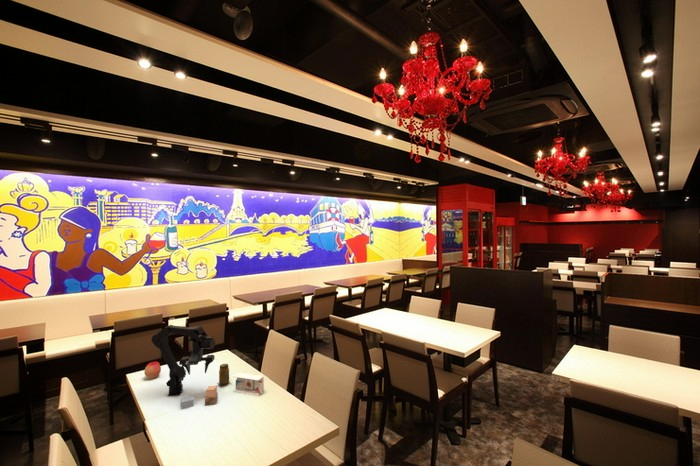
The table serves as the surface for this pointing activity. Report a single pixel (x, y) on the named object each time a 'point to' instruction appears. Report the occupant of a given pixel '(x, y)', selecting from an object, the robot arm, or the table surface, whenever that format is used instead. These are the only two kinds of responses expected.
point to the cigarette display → (249, 384)
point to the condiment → (224, 376)
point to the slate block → (186, 402)
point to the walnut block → (211, 400)
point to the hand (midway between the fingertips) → (197, 373)
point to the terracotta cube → (211, 391)
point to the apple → (152, 370)
